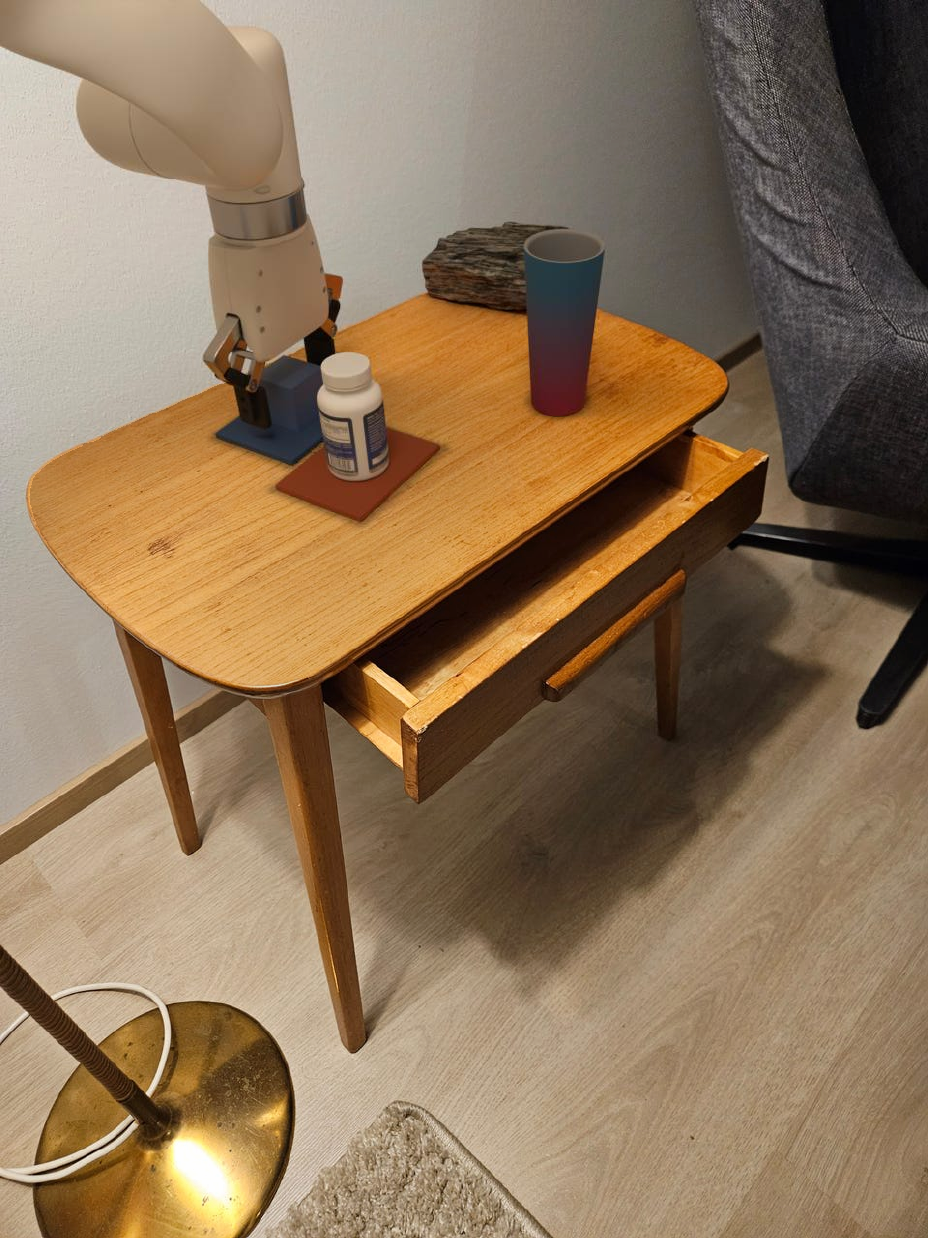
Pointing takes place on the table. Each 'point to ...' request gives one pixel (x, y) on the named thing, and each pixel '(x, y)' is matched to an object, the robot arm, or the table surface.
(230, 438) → the blue mat
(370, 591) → the table surface
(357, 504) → the rust mat
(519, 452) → the table surface
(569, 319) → the cup
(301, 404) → the blue block
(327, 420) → the pill bottle
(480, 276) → the rock
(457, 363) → the table surface
